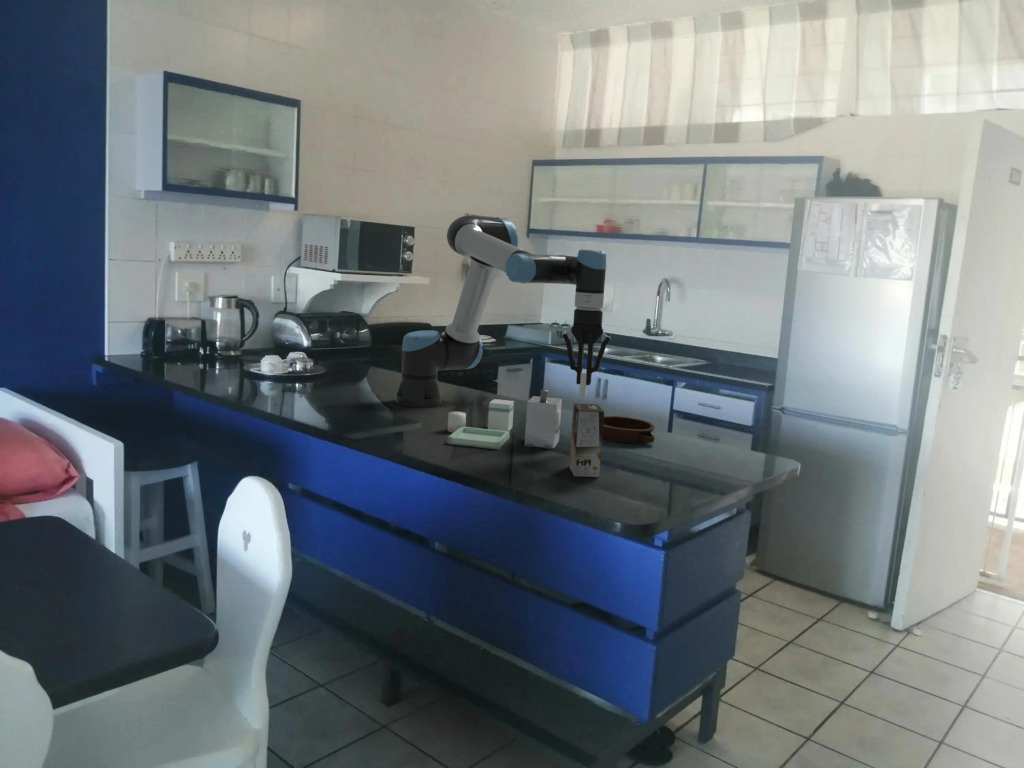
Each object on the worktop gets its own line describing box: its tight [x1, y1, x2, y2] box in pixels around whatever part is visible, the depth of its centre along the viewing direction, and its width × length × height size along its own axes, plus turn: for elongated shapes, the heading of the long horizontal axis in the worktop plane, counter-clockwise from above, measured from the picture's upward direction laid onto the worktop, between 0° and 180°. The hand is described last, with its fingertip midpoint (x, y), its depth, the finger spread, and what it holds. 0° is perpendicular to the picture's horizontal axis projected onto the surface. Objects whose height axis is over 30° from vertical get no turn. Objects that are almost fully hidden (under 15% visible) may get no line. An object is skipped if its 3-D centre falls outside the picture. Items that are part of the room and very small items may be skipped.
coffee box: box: [568, 403, 605, 478], centre depth 199 cm, size 9×6×16 cm
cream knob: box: [447, 411, 467, 433], centre depth 235 cm, size 5×5×5 cm
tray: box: [446, 426, 511, 450], centre depth 225 cm, size 14×14×2 cm
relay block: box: [487, 398, 515, 432], centre depth 241 cm, size 6×6×8 cm
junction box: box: [524, 389, 563, 450], centre depth 226 cm, size 8×11×15 cm
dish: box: [602, 415, 656, 444], centre depth 238 cm, size 18×22×5 cm
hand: (582, 396), depth 222 cm, fingers closed
